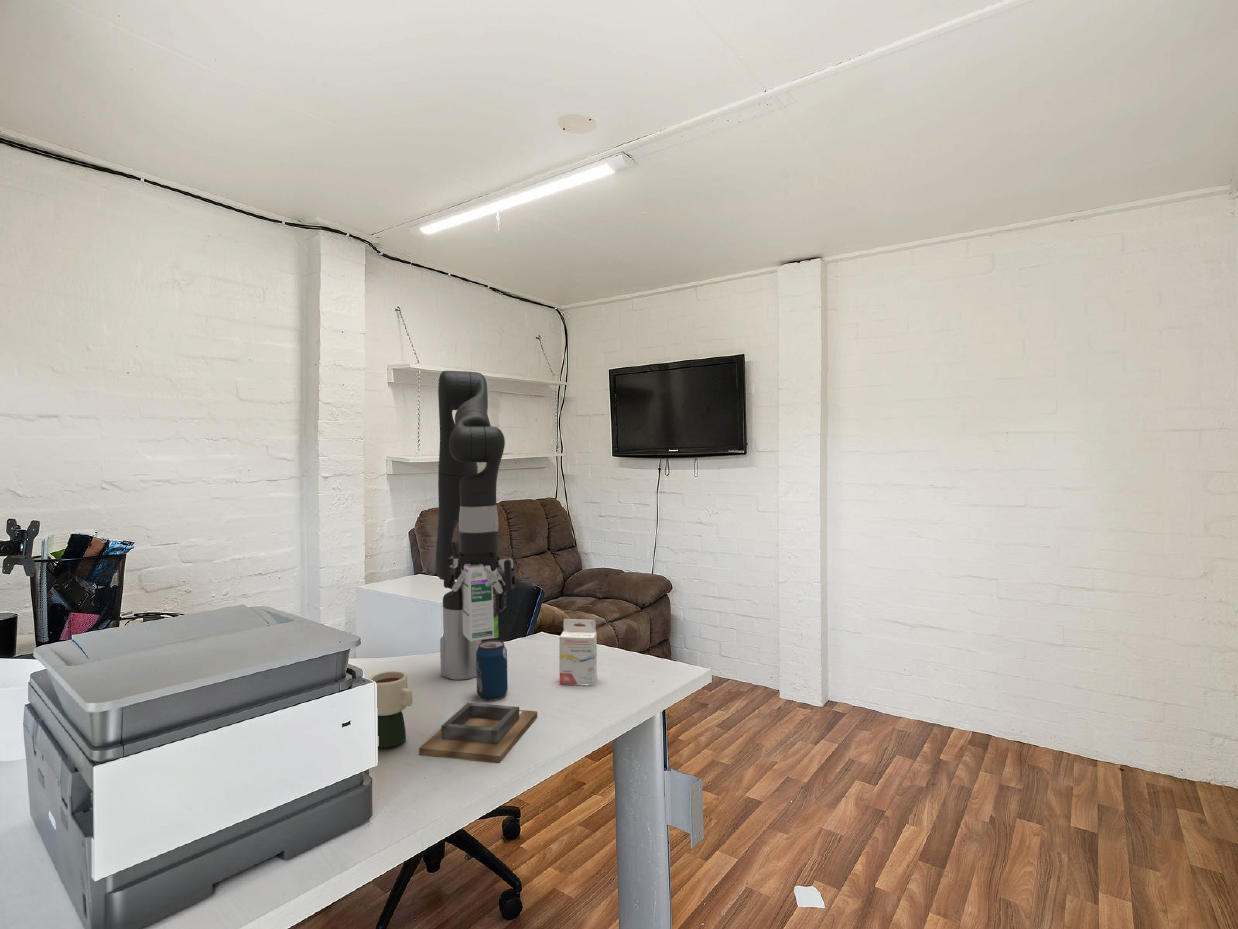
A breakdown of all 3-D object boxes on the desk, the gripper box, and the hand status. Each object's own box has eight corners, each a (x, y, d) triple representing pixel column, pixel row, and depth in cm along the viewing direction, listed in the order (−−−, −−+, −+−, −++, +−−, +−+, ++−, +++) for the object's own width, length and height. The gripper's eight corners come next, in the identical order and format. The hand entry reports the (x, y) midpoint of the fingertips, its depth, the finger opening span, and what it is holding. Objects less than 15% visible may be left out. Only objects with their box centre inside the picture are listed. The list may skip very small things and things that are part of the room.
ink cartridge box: (559, 685, 155) (558, 624, 155) (562, 678, 160) (562, 618, 160) (594, 686, 154) (594, 624, 154) (597, 678, 159) (596, 619, 159)
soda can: (513, 692, 151) (512, 640, 151) (497, 703, 145) (496, 650, 144) (487, 688, 154) (486, 638, 153) (470, 699, 147) (469, 646, 147)
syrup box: (469, 642, 125) (468, 567, 124) (462, 634, 130) (460, 562, 130) (499, 638, 128) (497, 564, 127) (490, 630, 133) (489, 559, 132)
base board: (419, 754, 121) (418, 734, 121) (466, 711, 141) (466, 694, 141) (499, 762, 118) (499, 742, 118) (537, 717, 137) (537, 699, 137)
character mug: (424, 739, 127) (423, 673, 127) (400, 756, 121) (398, 686, 120) (379, 731, 131) (377, 667, 131) (353, 747, 125) (351, 679, 124)
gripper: (436, 530, 126) (437, 613, 127) (505, 531, 123) (506, 617, 123) (453, 525, 133) (455, 604, 134) (519, 526, 130) (521, 607, 131)
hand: (480, 610), depth 129 cm, fingers closed on syrup box, 8 cm apart
